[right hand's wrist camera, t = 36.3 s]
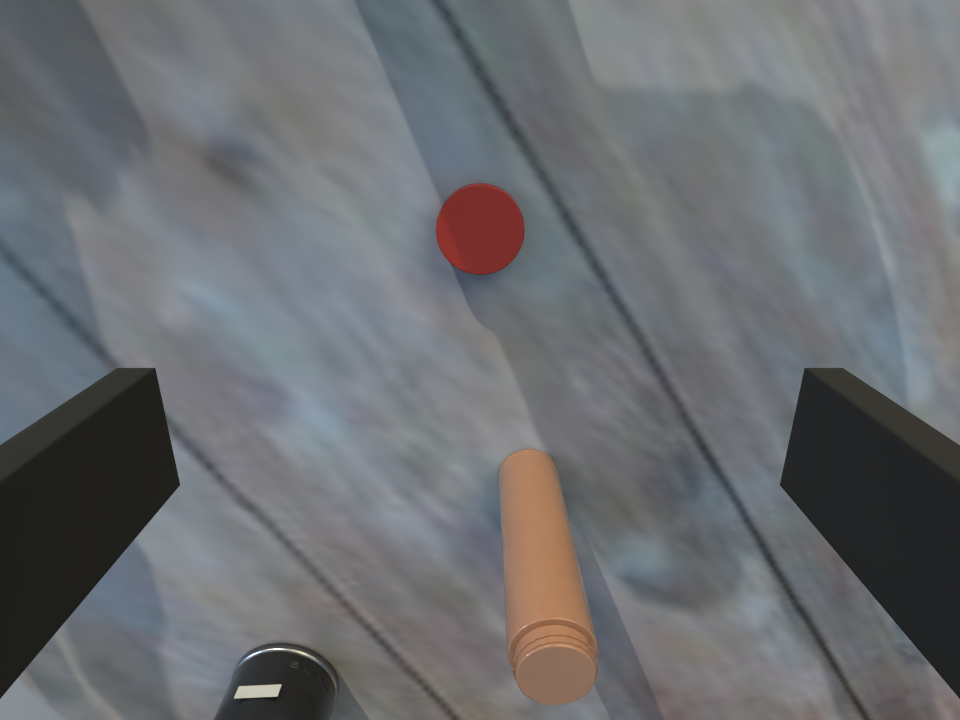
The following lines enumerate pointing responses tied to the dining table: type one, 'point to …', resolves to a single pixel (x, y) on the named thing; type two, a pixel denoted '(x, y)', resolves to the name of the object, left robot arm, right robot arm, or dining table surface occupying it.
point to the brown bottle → (543, 584)
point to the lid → (480, 229)
